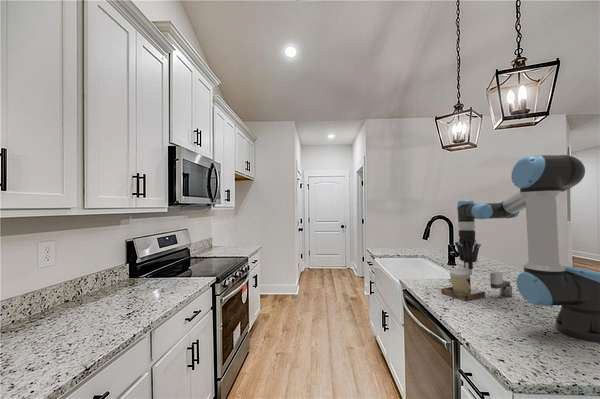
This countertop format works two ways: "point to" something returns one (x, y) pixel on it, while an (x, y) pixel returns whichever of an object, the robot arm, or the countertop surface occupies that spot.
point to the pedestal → (506, 291)
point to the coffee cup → (460, 281)
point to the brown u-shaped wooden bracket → (469, 297)
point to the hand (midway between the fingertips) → (468, 275)
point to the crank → (498, 280)
